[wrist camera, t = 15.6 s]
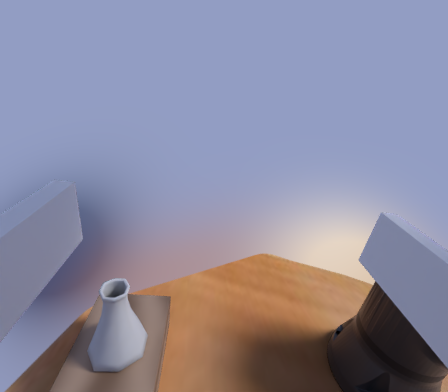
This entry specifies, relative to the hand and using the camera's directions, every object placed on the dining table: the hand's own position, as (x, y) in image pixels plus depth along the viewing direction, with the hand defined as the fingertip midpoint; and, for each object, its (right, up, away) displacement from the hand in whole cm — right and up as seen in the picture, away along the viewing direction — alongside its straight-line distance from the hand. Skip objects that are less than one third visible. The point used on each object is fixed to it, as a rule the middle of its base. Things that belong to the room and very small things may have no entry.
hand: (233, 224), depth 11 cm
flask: (-14, -18, +21) cm, 31 cm away
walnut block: (-15, -24, +24) cm, 37 cm away
